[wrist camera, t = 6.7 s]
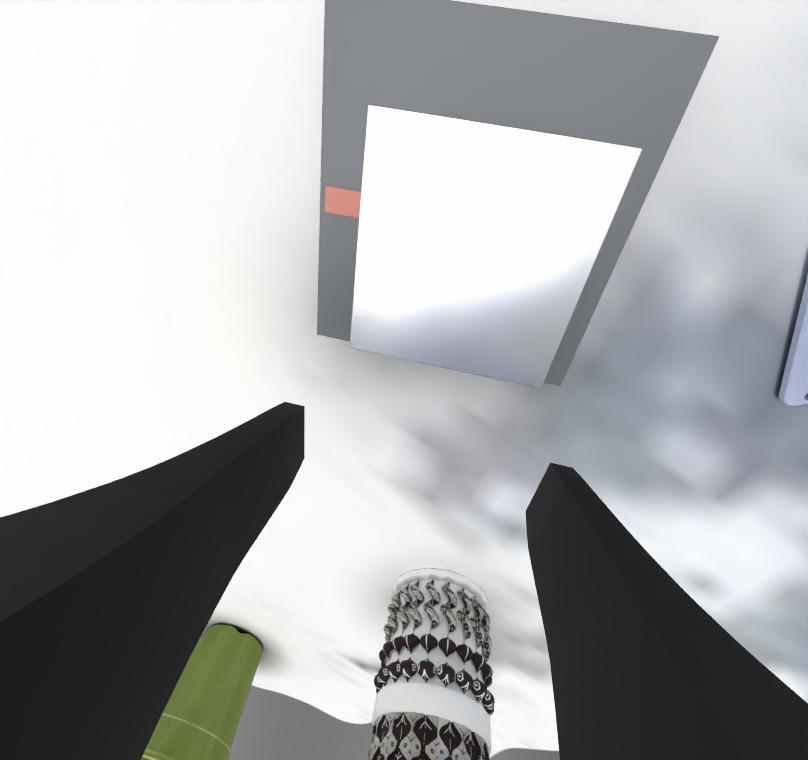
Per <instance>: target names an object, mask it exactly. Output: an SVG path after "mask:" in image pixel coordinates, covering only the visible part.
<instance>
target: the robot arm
mask: <svg viewBox="0 0 808 760" xmlns="http://www.w3.org/2000/svg"><path fill="white" fill-rule="evenodd" d="M807 393H808V275H807V279H806V284H805V288H804V292H803V296H802V300H801V304H800V309H799V313H798V317H797V321H796V325H795V329H794V334H793V338H792V342H791V346H790V350H789V354H788V359H787V363H786V367H785V371H784V375H783V379H782V384H781V388H780V392H779V399H780V400H781V401H782V402H783V403H785V404H787V405H790V406H797V405H805V404H808V395H806V394H807ZM805 395H806V396H805ZM303 460H304V406H300V405H296V404H292V403H287V402H284V403H282V404H280V405H277V406H276V407H274V408H272V409H270V410H268V411H266V412H264V413H262V414H260V415H258V416H257V417H255V418H253V419H251V420H249V421H247V422H245V423H243V424H241V425H240V426H238V427H236V428H234V429H232V430H230V431H228V432H226V433H224V434H222V435H220V436H218V437H216V438H214V439H212V440H210V441H208V442H206V443H204V444H201V445H199V446H197V447H195V448H193V449H191V450H189V451H187V452H184V453H182V454H180V455H178V456H176V457H174V458H171V459H169V460H167V461H164V462H162V463H160V464H157V465H155V466H152V467H150V468H147V469H145V470H142V471H140V472H137V473H135V474H132V475H129V476H127V477H124V478H122V479H119V480H116V481H114V482H111V483H108V484H105V485H102V486H99V487H96V488H93V489H90V490H87V491H84V492H81V493H78V494H75V495H72V496H69V497H66V498H63V499H60V500H57V501H54V502H51V503H48V504H45V505H42V506H38V507H35V508H31V509H28V510H25V511H21V512H18V513H15V514H11V515H8V516H4V517H0V760H141V758H142V756H143V754H144V752H145V750H146V747H147V745H148V743H149V741H150V739H151V737H152V735H153V732H154V730H155V728H156V726H157V724H158V722H159V720H160V717H161V715H162V713H163V711H164V709H165V707H166V705H167V703H168V701H169V699H170V697H171V695H172V693H173V691H174V689H175V687H176V685H177V683H178V681H179V679H180V676H181V674H182V672H183V670H184V668H185V666H186V664H187V662H188V660H189V658H190V656H191V654H192V652H193V650H194V649H195V647H196V645H197V643H198V641H199V639H200V637H201V635H202V633H203V631H204V629H205V627H206V625H207V623H208V621H209V619H210V618H211V616H212V614H213V612H214V610H215V608H216V606H217V604H218V603H219V601H220V599H221V597H222V595H223V593H224V591H225V590H226V588H227V586H228V584H229V582H230V580H231V578H232V577H233V575H234V573H235V572H236V570H237V568H238V567H239V565H240V563H241V562H242V560H243V558H244V557H245V555H246V554H247V552H248V551H249V549H250V548H251V546H252V545H253V543H254V542H255V540H256V539H257V537H258V536H259V534H260V533H261V531H262V530H263V528H264V527H265V525H266V524H267V522H268V520H269V519H270V517H271V516H272V514H273V513H274V511H275V510H276V508H277V507H278V505H279V504H280V502H281V501H282V499H283V498H284V496H285V494H286V493H287V491H288V490H289V488H290V486H291V484H292V482H293V480H294V478H295V476H296V474H297V472H298V470H299V468H300V466H301V464H302V462H303ZM526 525H527V539H528V549H529V554H530V560H531V565H532V570H533V575H534V580H535V585H536V590H537V595H538V600H539V605H540V610H541V615H542V620H543V625H544V630H545V634H546V640H547V646H548V652H549V658H550V665H551V674H552V683H553V692H554V701H555V710H556V720H557V731H558V742H559V753H560V760H808V703H806V702H805V701H804V700H803V699H802V698H801V697H800V696H798V695H797V694H796V693H795V692H794V691H793V690H791V689H790V688H789V687H788V686H787V685H786V684H785V683H783V682H782V681H781V680H780V679H779V678H778V677H776V676H775V675H774V674H773V673H772V672H771V671H770V670H768V669H767V668H766V667H765V666H764V665H763V664H762V663H760V662H759V661H758V660H757V659H756V658H755V657H754V656H753V655H752V654H750V653H749V652H748V651H747V650H746V649H745V648H744V647H743V646H742V645H740V644H739V643H738V642H737V641H736V640H735V639H734V638H733V637H732V636H731V635H730V634H729V633H728V632H727V631H725V630H724V629H723V628H722V627H721V626H720V625H719V624H718V623H717V622H716V621H715V620H714V619H713V618H712V617H711V616H710V615H709V614H708V613H706V612H705V611H704V610H703V609H702V608H701V607H700V606H699V605H698V604H697V603H696V602H695V601H694V600H693V599H692V598H691V597H690V596H689V595H688V594H687V593H686V592H685V591H684V590H683V589H682V588H681V587H680V586H679V585H678V584H677V583H676V582H675V581H674V580H673V579H672V578H671V577H670V576H669V575H668V574H667V572H666V571H665V570H664V569H663V568H662V567H661V566H660V565H659V564H658V563H657V562H656V561H655V560H654V559H653V558H652V557H651V556H650V555H649V553H648V552H647V551H646V550H645V549H644V548H643V547H642V546H641V545H640V544H639V543H638V541H637V540H636V539H635V538H634V537H633V536H632V535H631V534H630V533H629V531H628V530H627V529H626V528H625V527H624V526H623V525H622V523H621V522H620V521H619V520H618V519H617V518H616V517H615V515H614V514H613V513H612V512H611V511H610V510H609V508H608V507H607V506H606V505H605V504H604V503H603V502H602V500H601V499H600V498H599V497H598V496H597V495H596V493H595V492H594V491H593V490H592V489H591V488H590V486H589V485H588V484H587V483H586V482H585V481H584V480H583V478H582V477H581V476H580V475H579V474H578V473H577V472H576V471H575V470H574V469H573V468H571V467H567V466H562V465H558V464H554V463H550V465H549V467H548V469H547V471H546V473H545V475H544V477H543V478H542V480H541V482H540V484H539V486H538V488H537V490H536V492H535V494H534V496H533V498H532V500H531V502H530V504H529V506H528V508H527V510H526Z"/></svg>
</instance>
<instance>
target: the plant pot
mask: <svg viewBox="0 0 808 760" xmlns="http://www.w3.org/2000/svg"><path fill="white" fill-rule="evenodd" d="M261 654H262V647H261V645H260V643H259V642H258V641H257V640H256V639H255V638H254V637H253V636H252V635H250V634H247V633H246V634H241V633H239V632H238V631H237V629H236V628H234V627H233V626H230V625H220V624H218V625H213V626H211V627H210V628H209V629H208V630H207V631H206V632H205V633H204V634H203V636H202V637H201V638H200V639H199V641H198V643H197V645H196V647H195V649H194V650H193V652H192V654H191V656H190V658H189V660H188V662H187V664H186V666H185V668H184V670H183V672H182V674H181V676H180V679H179V681H178V683H177V685H176V687H175V689H174V691H173V693H172V695H171V697H170V699H169V701H168V703H167V705H166V707H165V709H164V711H163V713H162V715H161V717H160V720H159V722H158V724H157V726H156V728H155V730H154V732H153V735H152V737H151V739H150V741H149V743H148V745H147V747H146V750H145V752H144V754H143V756H142V758H141V760H228V759H229V757H230V748H231V745H232V742H233V739H234V736H235V733H236V730H237V727H238V724H239V721H240V717H241V715H242V711H243V708H244V706H245V702H246V700H247V696H248V694H249V691H250V687H251V684H252V681H253V678H254V675H255V672H256V669H257V666H258V664H259V661H260V658H261Z"/></svg>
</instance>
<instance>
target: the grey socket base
mask: <svg viewBox="0 0 808 760" xmlns="http://www.w3.org/2000/svg"><path fill="white" fill-rule="evenodd" d="M718 38H719V36H712V35H705V34H697V33H690V32H682V31H675V30H667V29H660V28H652V27H645V26H637V25H630V24H623V23H615V22H608V21H600V20H593V19H585V18H578V17H570V16H563V15H555V14H548V13H540V12H533V11H525V10H518V9H510V8H503V7H495V6H488V5H481V4H473V3H466V2H458V1H451V0H325V19H324V62H323V106H322V149H321V192H320V235H319V278H318V322H317V334H318V335H323V336H327V337H332V338H337V339H341V340H346V341H350V336H351V323H352V310H353V298H354V285H355V272H356V259H357V246H358V233H359V220H360V207H361V194H362V181H363V168H364V156H365V143H366V130H367V117H368V105H370V106H377V107H383V108H389V109H396V110H402V111H408V112H414V113H421V114H427V115H433V116H440V117H446V118H452V119H458V120H465V121H471V122H477V123H484V124H490V125H496V126H502V127H509V128H515V129H521V130H528V131H534V132H540V133H546V134H553V135H559V136H565V137H572V138H578V139H584V140H590V141H597V142H603V143H609V144H616V145H622V146H628V147H634V148H641V149H642V151H641V153H640V155H639V158H638V160H637V162H636V165H635V167H634V169H633V172H632V174H631V177H630V179H629V181H628V184H627V186H626V188H625V191H624V193H623V195H622V198H621V200H620V203H619V205H618V207H617V210H616V212H615V214H614V217H613V219H612V221H611V224H610V226H609V228H608V231H607V233H606V236H605V238H604V240H603V243H602V245H601V247H600V250H599V252H598V254H597V257H596V259H595V262H594V264H593V266H592V269H591V271H590V273H589V276H588V278H587V280H586V283H585V285H584V288H583V290H582V292H581V295H580V297H579V299H578V302H577V304H576V306H575V309H574V311H573V314H572V316H571V318H570V321H569V323H568V325H567V328H566V330H565V332H564V335H563V337H562V339H561V342H560V344H559V347H558V349H557V351H556V354H555V356H554V358H553V361H552V363H551V365H550V368H549V370H548V373H547V375H546V377H545V380H544V382H545V383H549V384H554V385H559V386H560V385H561V383H562V381H563V378H564V376H565V374H566V372H567V370H568V367H569V365H570V363H571V361H572V359H573V356H574V354H575V352H576V350H577V348H578V345H579V343H580V341H581V339H582V337H583V334H584V332H585V330H586V328H587V326H588V323H589V321H590V319H591V317H592V315H593V312H594V310H595V308H596V306H597V304H598V302H599V299H600V297H601V295H602V293H603V291H604V288H605V286H606V284H607V282H608V280H609V277H610V275H611V273H612V271H613V269H614V266H615V264H616V262H617V260H618V258H619V255H620V253H621V251H622V249H623V247H624V244H625V242H626V240H627V238H628V236H629V233H630V231H631V229H632V227H633V225H634V223H635V220H636V218H637V216H638V214H639V212H640V209H641V207H642V205H643V203H644V201H645V198H646V196H647V194H648V192H649V190H650V187H651V185H652V183H653V181H654V179H655V176H656V174H657V172H658V170H659V168H660V165H661V163H662V161H663V159H664V157H665V154H666V152H667V150H668V148H669V146H670V143H671V141H672V139H673V137H674V135H675V133H676V130H677V128H678V126H679V124H680V122H681V119H682V117H683V115H684V113H685V111H686V108H687V106H688V104H689V102H690V100H691V97H692V95H693V93H694V91H695V89H696V86H697V84H698V82H699V80H700V78H701V75H702V73H703V71H704V69H705V67H706V64H707V62H708V60H709V58H710V56H711V54H712V51H713V49H714V47H715V45H716V43H717V40H718Z"/></svg>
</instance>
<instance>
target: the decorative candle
mask: <svg viewBox="0 0 808 760" xmlns="http://www.w3.org/2000/svg"><path fill="white" fill-rule="evenodd" d="M392 591H393V597H392V602H393V604H390V605H389V606H388V611H389V612H390V614H391V615H390V616H389V617H388V624H386V625H385V626H384V632H385V634H386V638H385V639H386V643H385V644H384V646H383V650H381V651H380V653H379V658H380V660H381V661H382V662H381V666H382V668H381V669H380V670H379V672H378V674H377V675H376V676H375V679H374V684H375V686H376V692H377V695H376V700H375V706H374V712H373V717H372V724H373V738H372V743H371V745H370V752H369V756H368V760H489V755H490V751H491V729H490V716H491V715H492V714H493V712H494V706H493V705H494V697H493V695H492V694H491V693H490V692H489V691H488V690H487V687H489V686H490V685H491V684H492V677H491V676H492V668H491V667H490V666H489V665H488V664H486V662H487V661H488V659H489V658H490V655H491V639H490V637H489V635H488V634H489V630H490V627H489V624H490V619H489V616H488V614H487V605H488V599H487V597H486V596H485V594H484V592H483V590H482V589H481V587H479V586H478V585H477V584H475V583H474V582H473V581H471V580H470V579H468V578H467V577H464V576H462V575H459V574H456V573H454V572H451V571H448V570H440V569H432V568H426V569H419V570H411V571H409V572H407V573H405V574H403V575H402V576H400V577H398V579H397V581H396V582H395V584H394V586H393V589H392ZM481 620H482V621H481ZM482 643H483V646H482Z"/></svg>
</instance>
